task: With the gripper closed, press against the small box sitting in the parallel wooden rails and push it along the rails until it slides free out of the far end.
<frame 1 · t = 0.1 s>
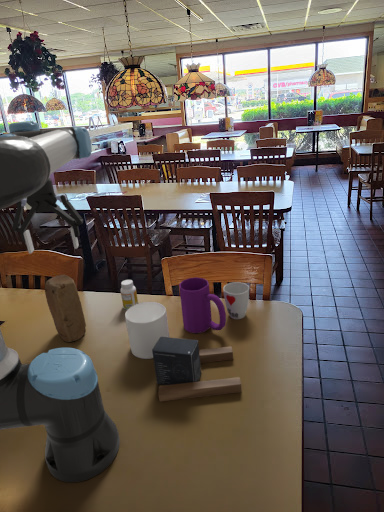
hand: (54, 249, 115), 28 cm above the table, fingers open, 13 cm apart
box: (179, 378, 99), on the table
parallel wooden rails: (198, 375, 99), on the table
cup 2: (150, 347, 113), on the table
mug: (205, 329, 119), on the table
cup: (237, 315, 124), on the table
supplement bottle: (131, 306, 135), on the table
block: (71, 335, 122), on the table
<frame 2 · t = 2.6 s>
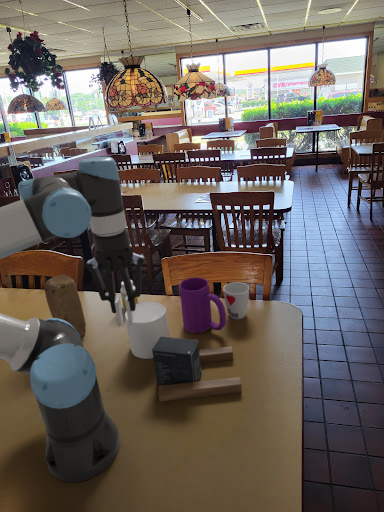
hand: (126, 322, 92), 18 cm above the table, fingers open, 2 cm apart
nothing on the table moved.
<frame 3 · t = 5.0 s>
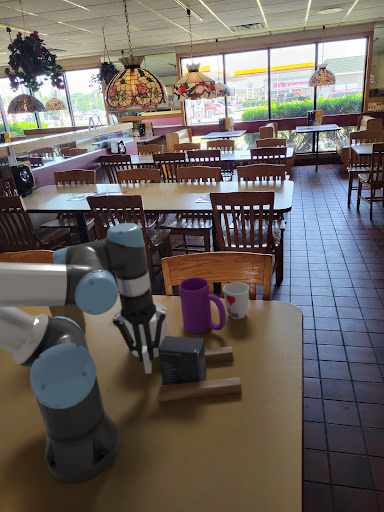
hand: (148, 369, 98), 4 cm above the table, fingers closed
box: (184, 377, 99), on the table, touching gripper
everything else where it was.
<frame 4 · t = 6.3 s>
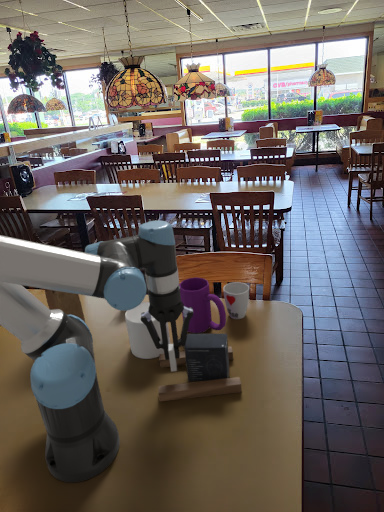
hand: (173, 367, 98), 3 cm above the table, fingers closed
box: (208, 373, 100), on the table, touching gripper
everything else where it was.
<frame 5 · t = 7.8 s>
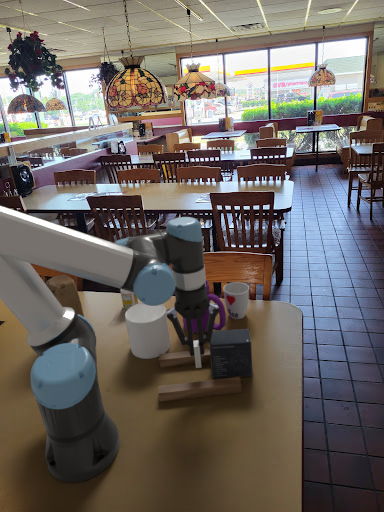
hand: (198, 364, 98), 4 cm above the table, fingers closed
box: (231, 369, 100), on the table, touching gripper
everything else where it was.
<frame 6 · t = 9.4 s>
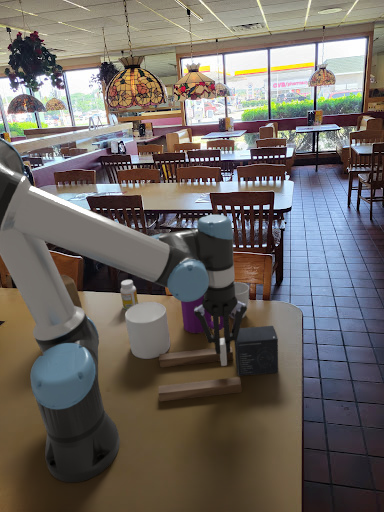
hand: (223, 362, 98), 3 cm above the table, fingers closed
box: (256, 367, 101), on the table, touching gripper
everything else where it was.
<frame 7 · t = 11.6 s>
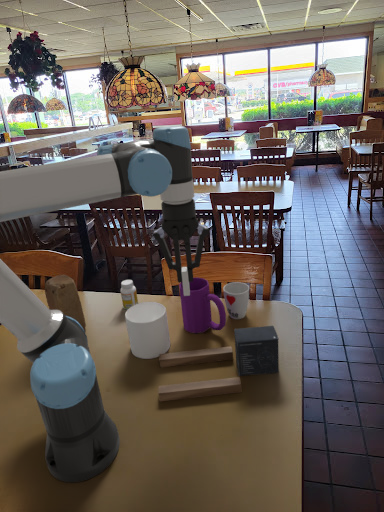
hand: (186, 292, 94), 23 cm above the table, fingers closed
box: (256, 367, 101), on the table
everything else where it was.
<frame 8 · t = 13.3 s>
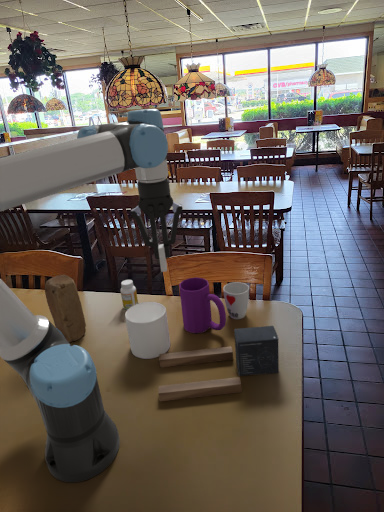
hand: (164, 269, 99), 26 cm above the table, fingers closed
nothing on the table moved.
at the end: box inside the target area (2.6 cm from its centre), on the table; box tilted 0°; box moved 20.7 cm from its start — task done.
